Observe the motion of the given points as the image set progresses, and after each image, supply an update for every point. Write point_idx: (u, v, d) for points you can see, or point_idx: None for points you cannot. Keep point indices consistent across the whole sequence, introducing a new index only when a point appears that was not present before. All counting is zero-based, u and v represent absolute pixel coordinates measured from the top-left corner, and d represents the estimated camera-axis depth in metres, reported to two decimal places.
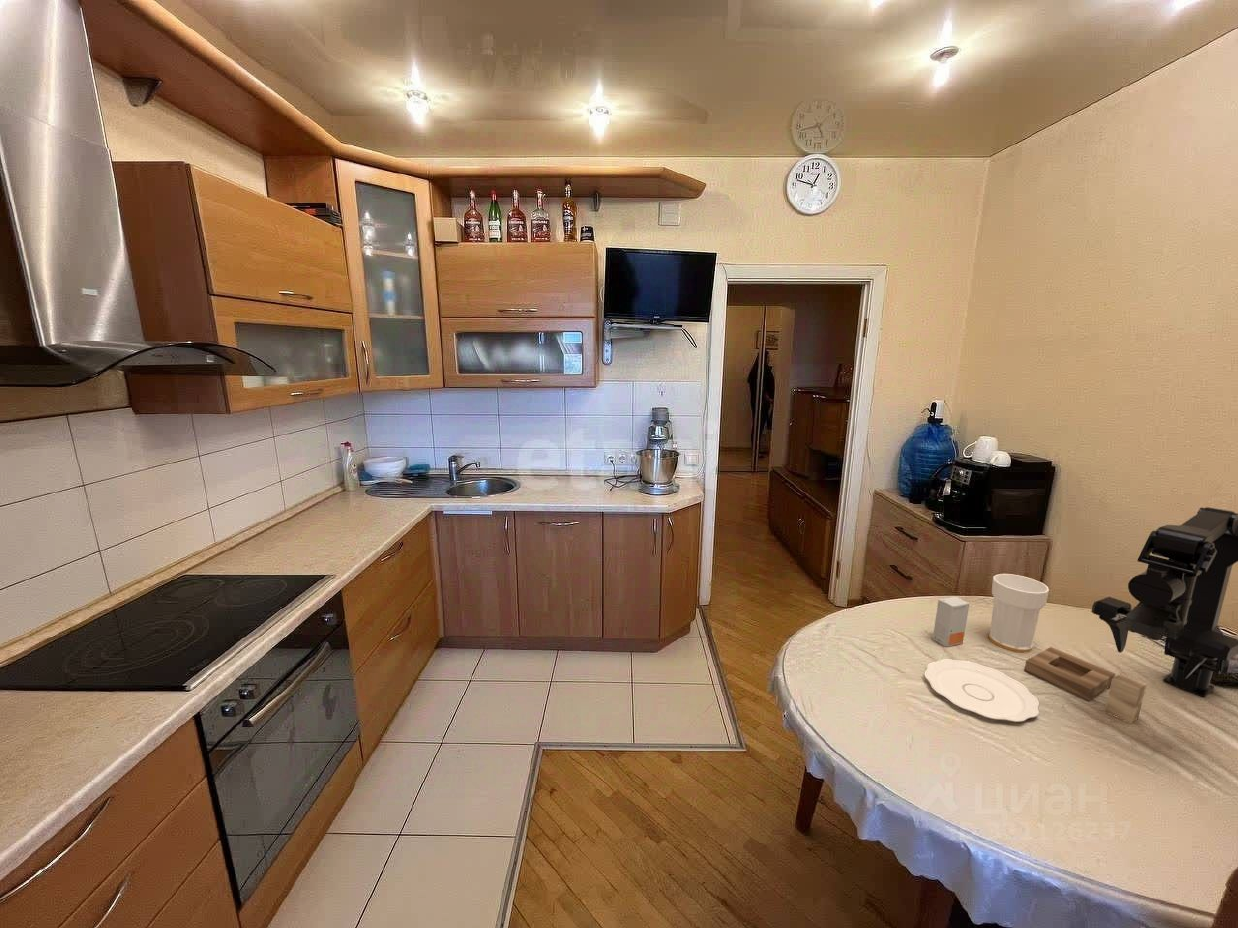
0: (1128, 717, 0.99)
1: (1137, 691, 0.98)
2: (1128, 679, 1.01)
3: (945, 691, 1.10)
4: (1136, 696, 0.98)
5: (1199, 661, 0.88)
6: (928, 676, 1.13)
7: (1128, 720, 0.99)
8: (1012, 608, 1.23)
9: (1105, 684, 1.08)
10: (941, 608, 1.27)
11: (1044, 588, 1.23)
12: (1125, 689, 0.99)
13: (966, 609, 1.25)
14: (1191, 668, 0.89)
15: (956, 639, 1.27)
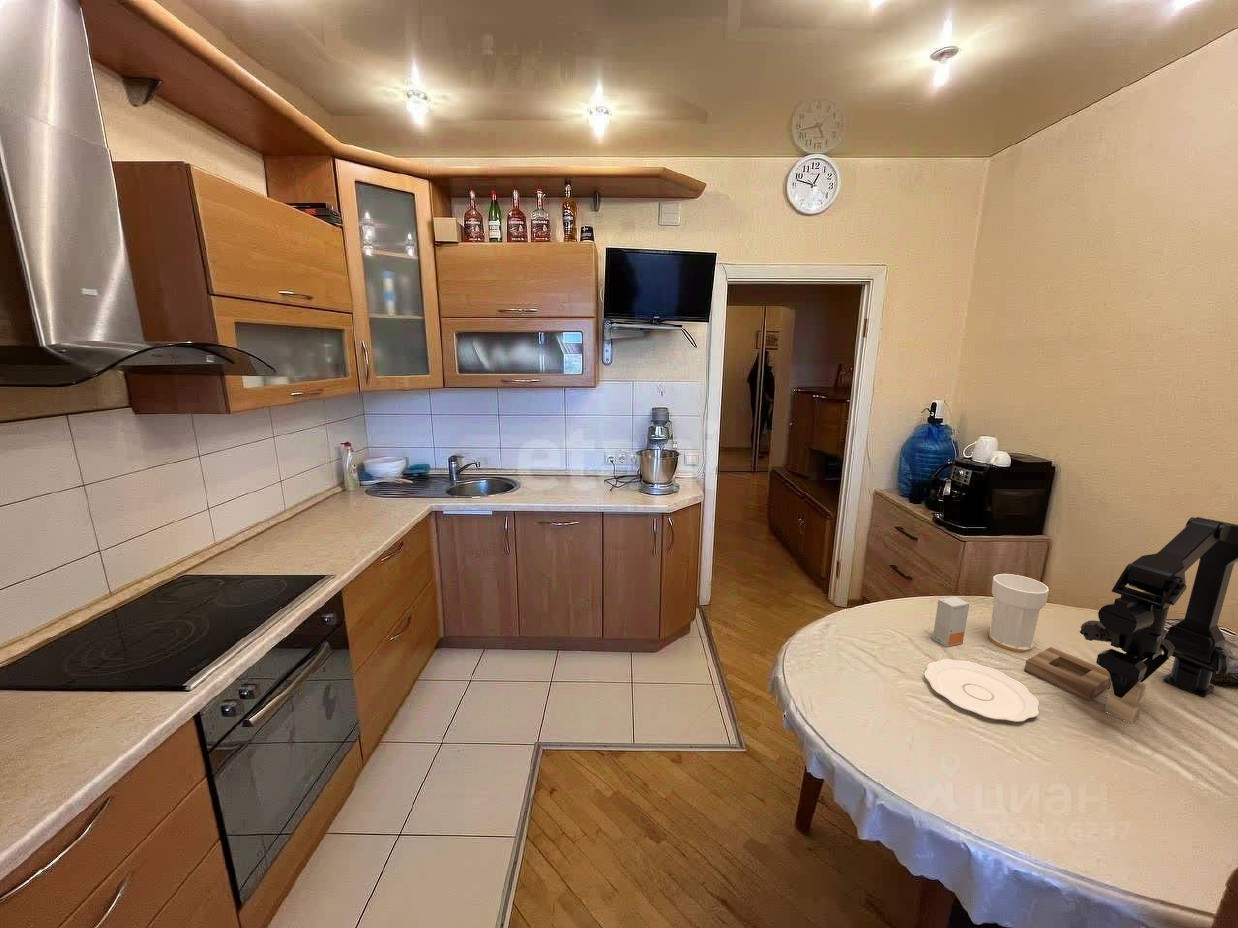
0: (1128, 717, 0.99)
1: (1137, 691, 0.98)
2: None
3: (945, 691, 1.10)
4: (1136, 696, 0.98)
5: None
6: (928, 676, 1.13)
7: (1128, 720, 0.99)
8: (1012, 608, 1.23)
9: (1105, 684, 1.08)
10: (941, 608, 1.27)
11: (1044, 588, 1.23)
12: None
13: (966, 609, 1.25)
14: (1112, 682, 0.98)
15: (956, 639, 1.27)
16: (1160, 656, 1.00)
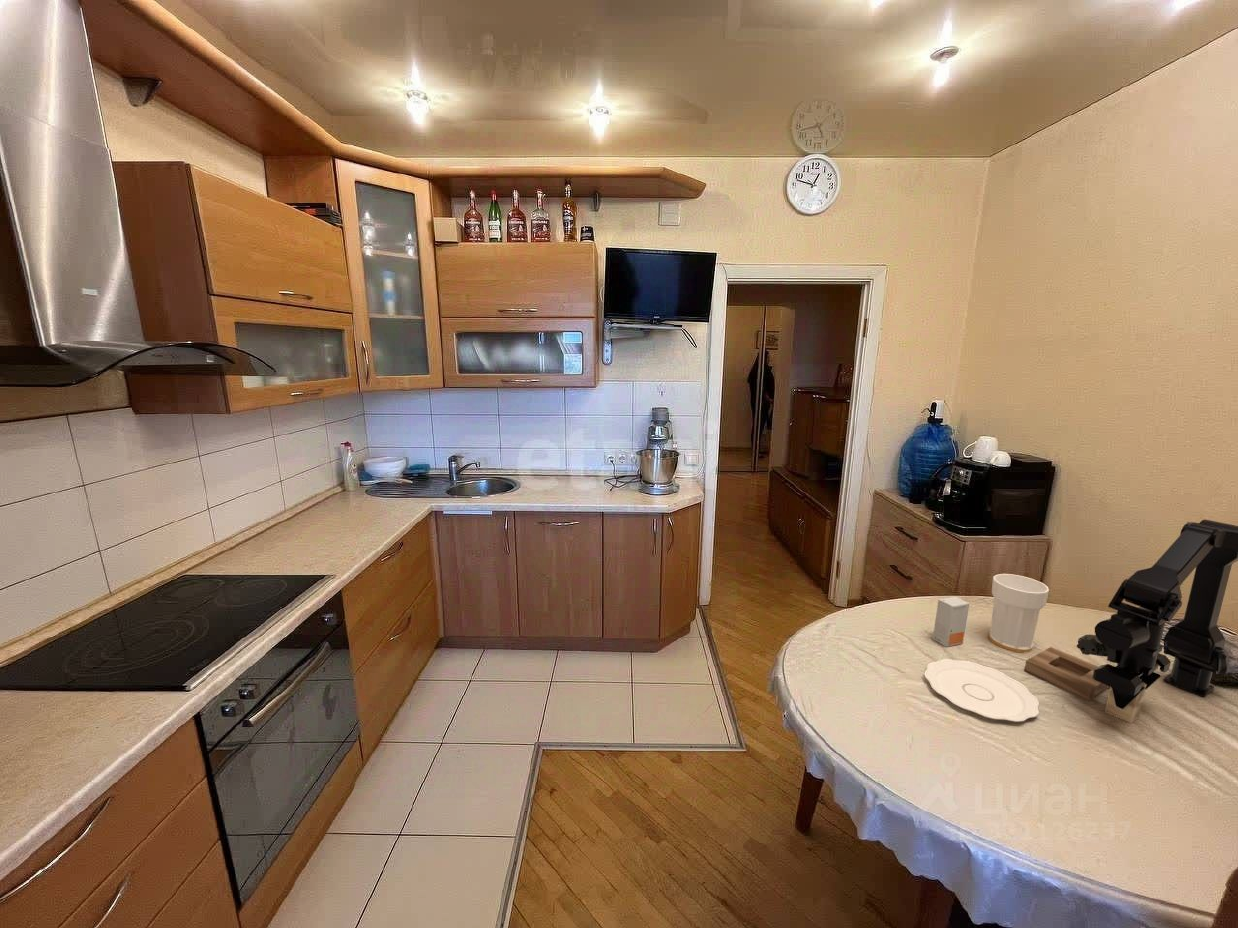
0: (1128, 717, 0.99)
1: None
2: None
3: (945, 691, 1.10)
4: None
5: None
6: (928, 676, 1.13)
7: (1128, 720, 0.99)
8: (1012, 608, 1.23)
9: None
10: (941, 608, 1.27)
11: (1044, 588, 1.23)
12: None
13: (966, 609, 1.25)
14: (1113, 693, 1.00)
15: (956, 639, 1.27)
16: (1151, 674, 1.00)
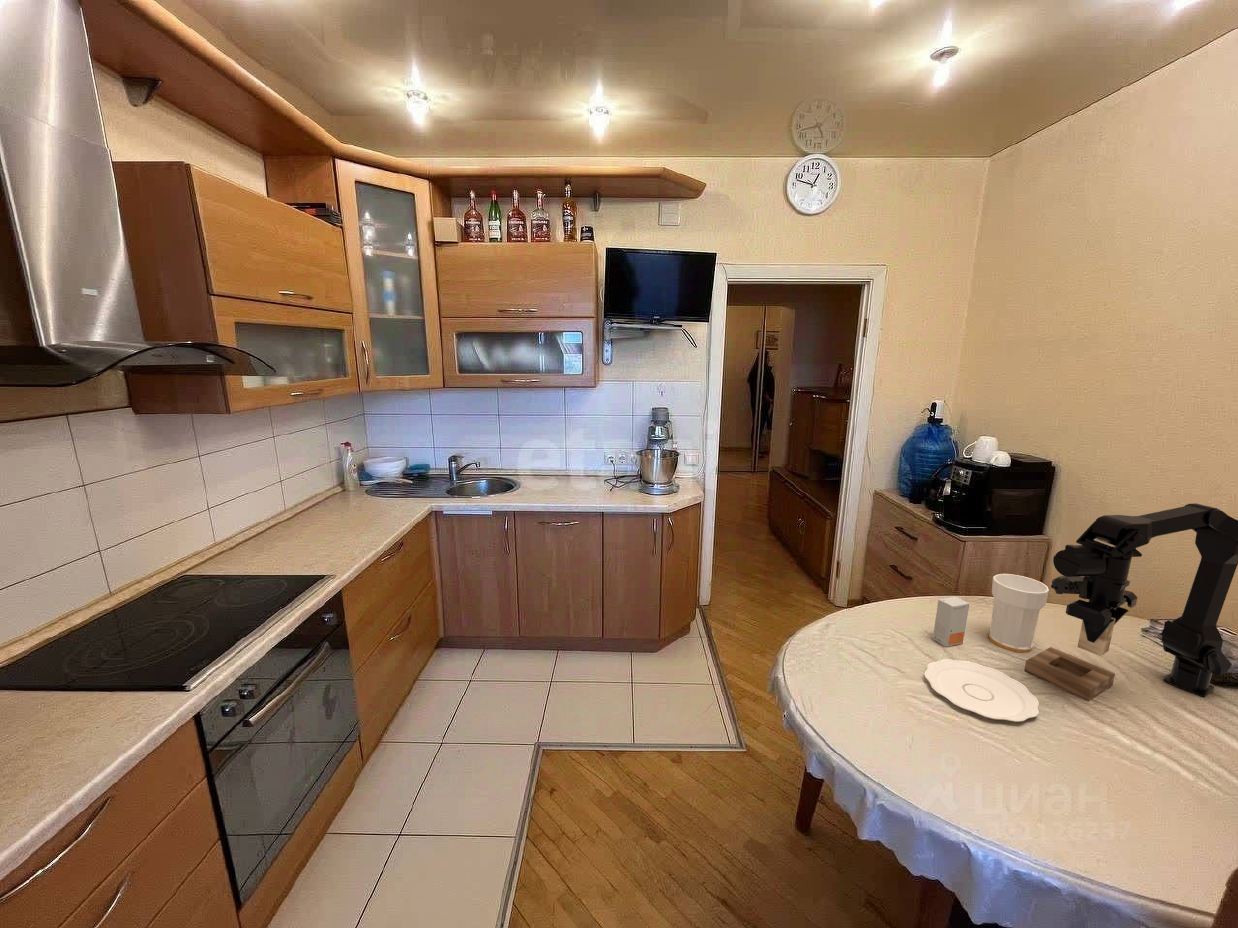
0: (1099, 650, 1.05)
1: None
2: None
3: (945, 691, 1.10)
4: (1106, 629, 1.03)
5: None
6: (928, 676, 1.13)
7: (1099, 653, 1.05)
8: (1012, 608, 1.23)
9: (1105, 684, 1.08)
10: (941, 608, 1.27)
11: (1044, 588, 1.23)
12: None
13: (966, 609, 1.25)
14: (1085, 628, 1.06)
15: (956, 639, 1.27)
16: (1120, 609, 1.06)
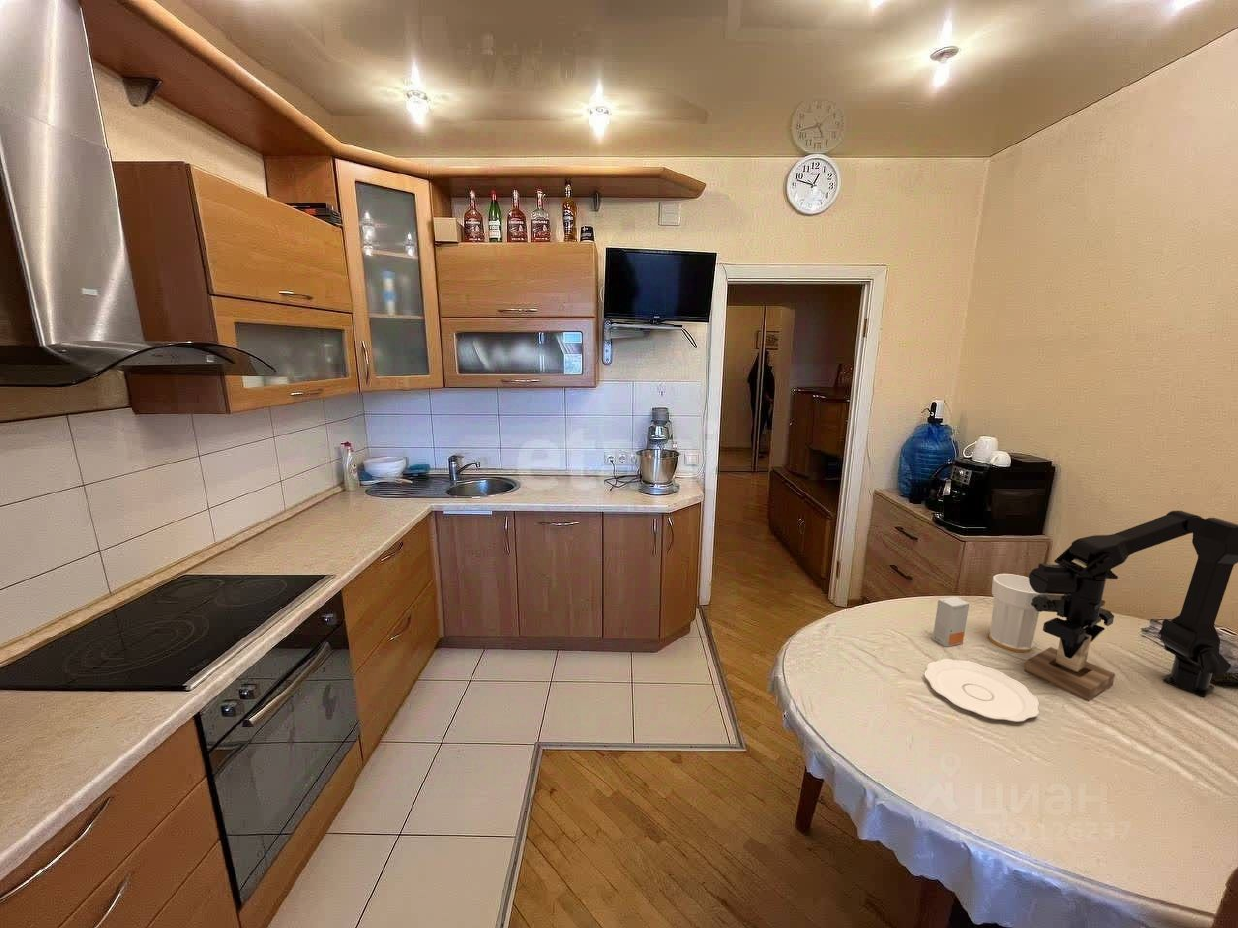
0: (1075, 665, 1.10)
1: None
2: None
3: (945, 691, 1.10)
4: None
5: None
6: (928, 676, 1.13)
7: (1075, 668, 1.10)
8: (1012, 608, 1.23)
9: (1105, 684, 1.08)
10: (941, 608, 1.27)
11: None
12: None
13: (966, 609, 1.25)
14: None
15: (956, 639, 1.27)
16: (1096, 627, 1.11)
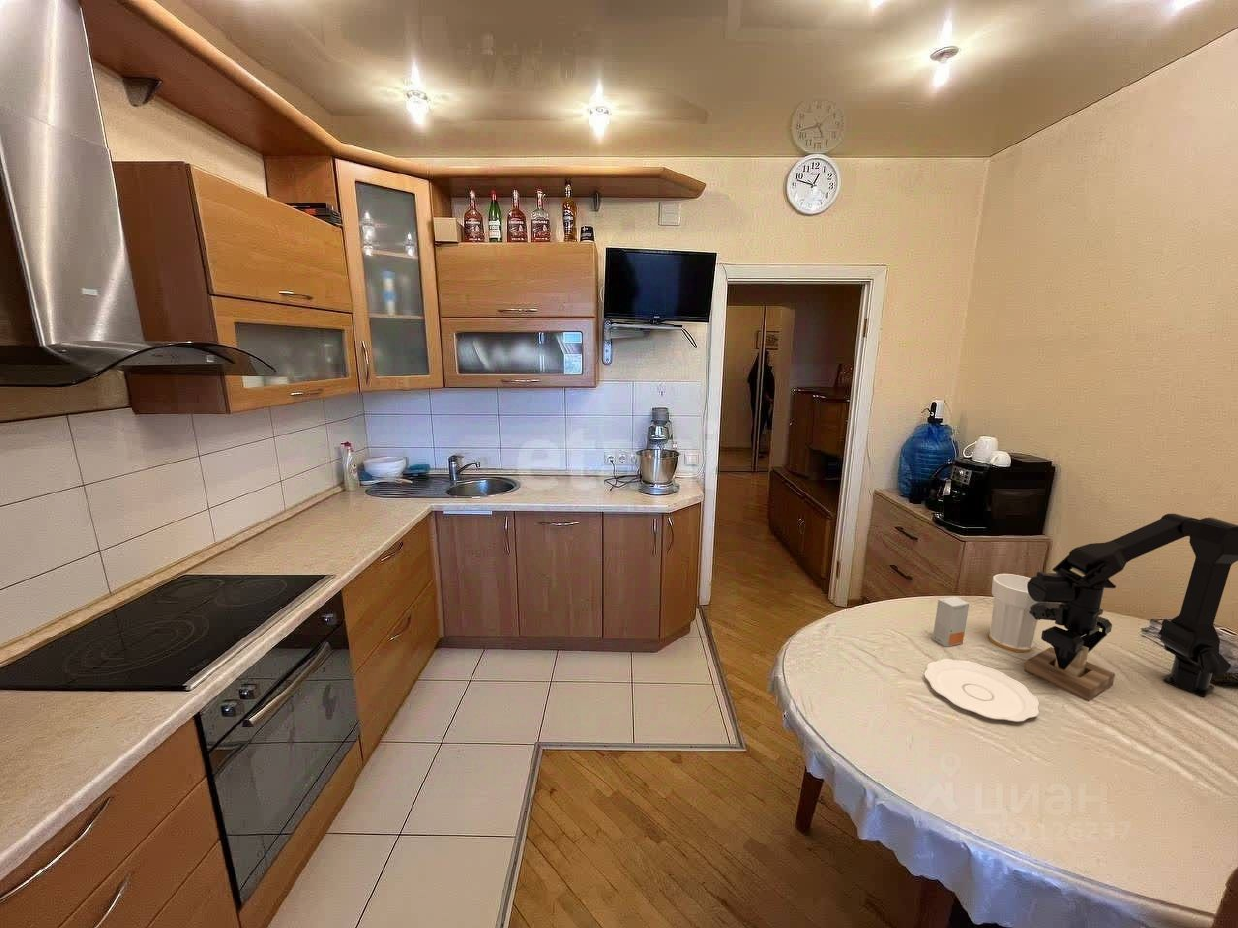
0: None
1: (1080, 654, 1.09)
2: None
3: (945, 691, 1.10)
4: (1079, 658, 1.10)
5: None
6: (928, 676, 1.13)
7: None
8: (1012, 608, 1.23)
9: (1105, 684, 1.08)
10: (941, 608, 1.27)
11: None
12: None
13: (966, 609, 1.25)
14: None
15: (956, 639, 1.27)
16: (1099, 633, 1.12)
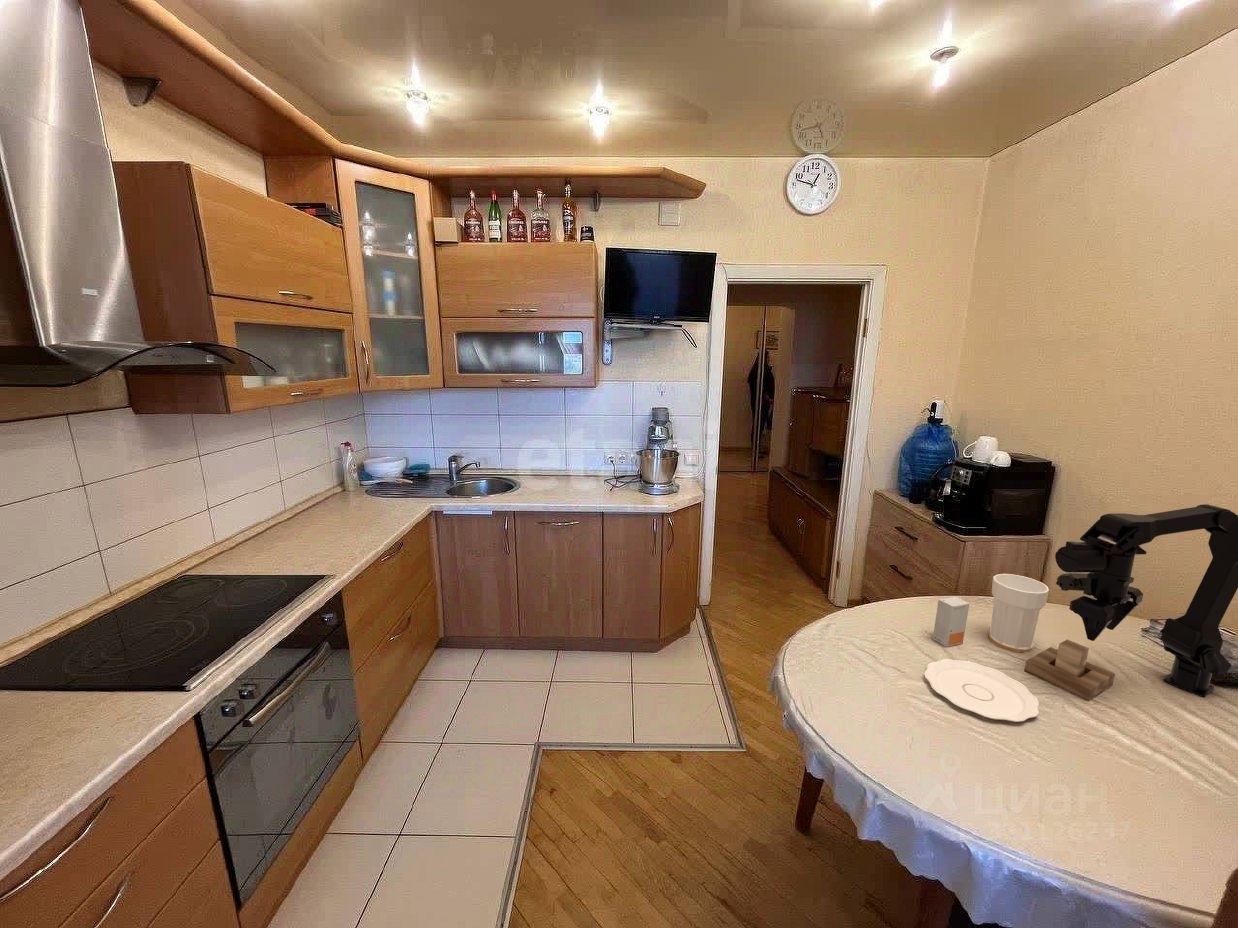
0: None
1: (1080, 654, 1.09)
2: (1073, 644, 1.12)
3: (945, 691, 1.10)
4: (1079, 658, 1.10)
5: None
6: (928, 676, 1.13)
7: None
8: (1012, 608, 1.23)
9: (1105, 684, 1.08)
10: (941, 608, 1.27)
11: (1044, 588, 1.23)
12: (1070, 652, 1.11)
13: (966, 609, 1.25)
14: None
15: (956, 639, 1.27)
16: (1130, 603, 1.09)
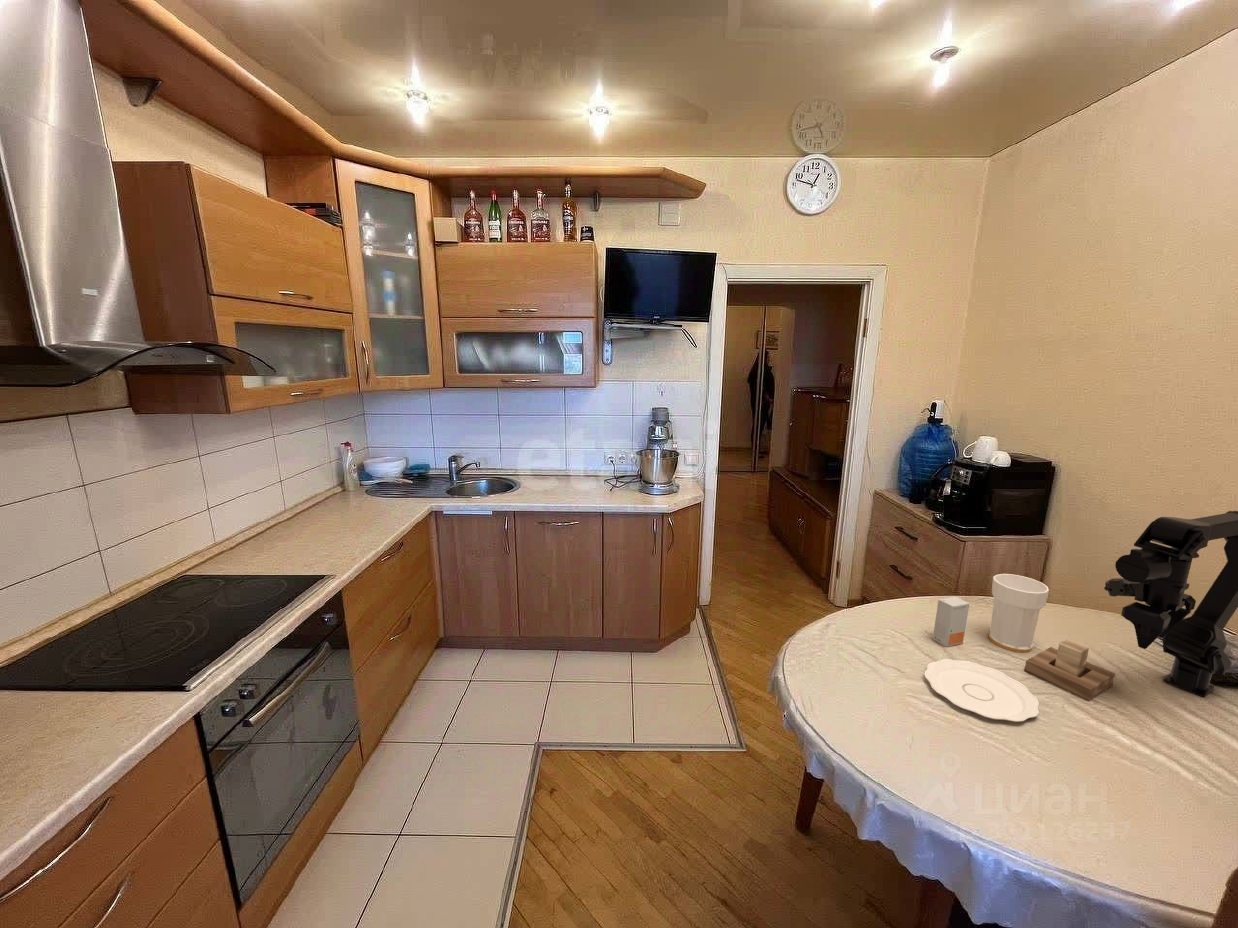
0: None
1: (1080, 654, 1.09)
2: (1073, 644, 1.12)
3: (945, 691, 1.10)
4: (1079, 658, 1.10)
5: (1134, 626, 1.03)
6: (928, 676, 1.13)
7: None
8: (1012, 608, 1.23)
9: (1105, 684, 1.08)
10: (941, 608, 1.27)
11: (1044, 588, 1.23)
12: (1070, 652, 1.11)
13: (966, 609, 1.25)
14: (1136, 634, 1.03)
15: (956, 639, 1.27)
16: (1182, 610, 1.05)
